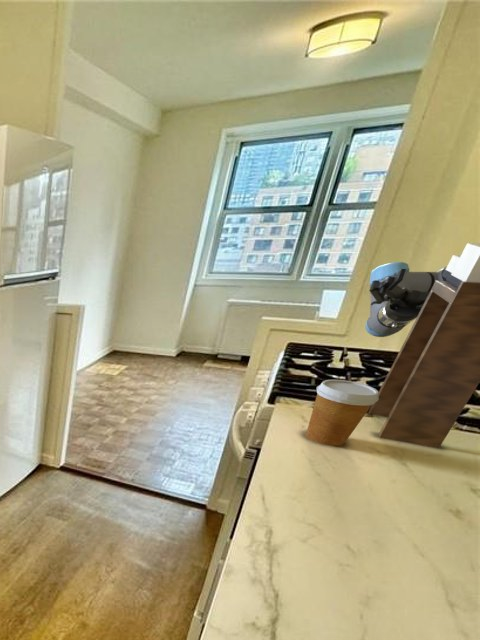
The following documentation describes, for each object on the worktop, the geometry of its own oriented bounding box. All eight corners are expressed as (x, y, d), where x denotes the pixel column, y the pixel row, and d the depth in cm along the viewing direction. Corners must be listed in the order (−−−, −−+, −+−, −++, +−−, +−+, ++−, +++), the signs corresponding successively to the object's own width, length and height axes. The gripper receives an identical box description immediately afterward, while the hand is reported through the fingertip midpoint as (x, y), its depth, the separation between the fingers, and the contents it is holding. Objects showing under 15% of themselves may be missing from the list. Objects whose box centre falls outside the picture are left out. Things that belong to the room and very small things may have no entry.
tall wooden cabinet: (420, 421, 110) (506, 273, 94) (438, 449, 98) (538, 286, 83) (367, 412, 114) (440, 270, 99) (378, 438, 103) (463, 282, 87)
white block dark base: (476, 277, 102) (496, 240, 98) (506, 291, 89) (531, 249, 85) (436, 275, 105) (454, 239, 101) (459, 288, 92) (481, 248, 88)
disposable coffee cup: (361, 443, 101) (390, 389, 95) (341, 455, 97) (369, 399, 91) (308, 426, 108) (331, 375, 103) (287, 436, 104) (310, 384, 98)
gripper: (466, 328, 122) (519, 298, 104) (337, 316, 134) (364, 287, 116) (476, 299, 121) (531, 264, 103) (346, 290, 134) (375, 257, 116)
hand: (443, 276), depth 110 cm, fingers open, 13 cm apart
